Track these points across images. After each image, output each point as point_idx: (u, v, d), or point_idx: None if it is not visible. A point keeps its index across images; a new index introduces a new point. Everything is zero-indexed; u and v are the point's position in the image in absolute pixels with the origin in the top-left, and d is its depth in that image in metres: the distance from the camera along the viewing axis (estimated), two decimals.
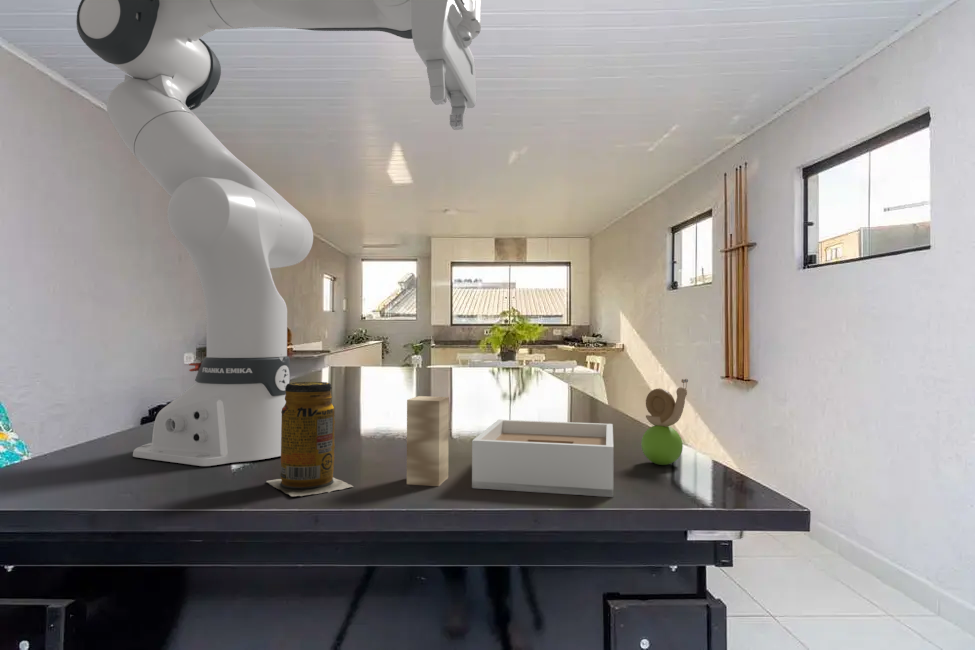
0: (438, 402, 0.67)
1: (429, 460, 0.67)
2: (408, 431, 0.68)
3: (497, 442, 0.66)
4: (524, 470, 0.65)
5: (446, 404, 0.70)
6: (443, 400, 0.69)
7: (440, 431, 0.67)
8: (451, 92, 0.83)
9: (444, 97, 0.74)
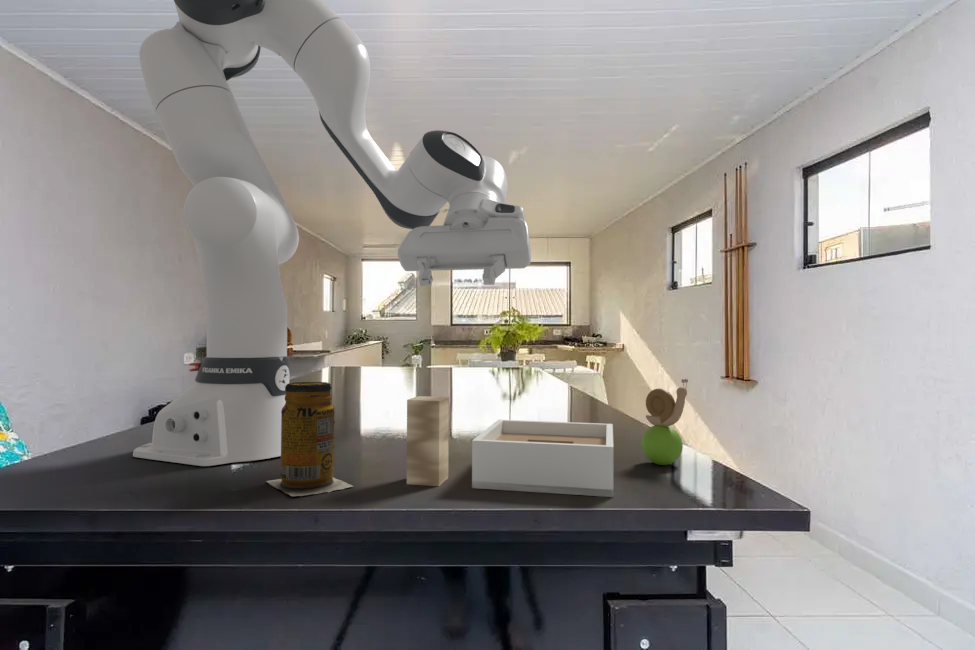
0: (438, 402, 0.67)
1: (429, 460, 0.67)
2: (408, 431, 0.68)
3: (497, 442, 0.66)
4: (524, 470, 0.65)
5: (446, 404, 0.70)
6: (443, 400, 0.69)
7: (440, 431, 0.67)
8: None
9: None
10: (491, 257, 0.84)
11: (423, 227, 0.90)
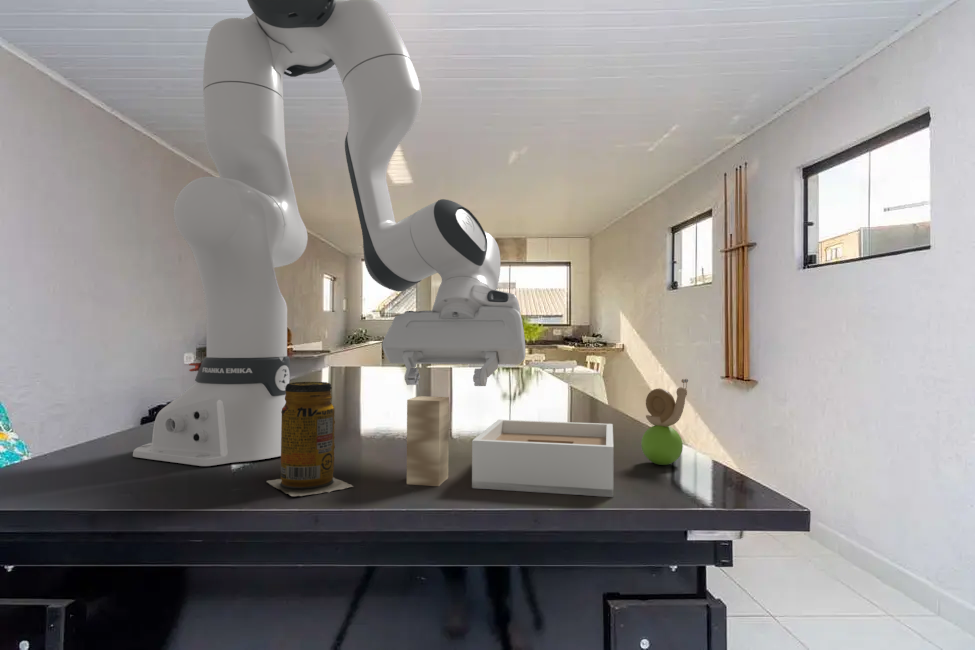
0: (438, 402, 0.67)
1: (429, 460, 0.67)
2: (408, 431, 0.68)
3: (497, 442, 0.66)
4: (524, 470, 0.65)
5: (446, 404, 0.70)
6: (443, 400, 0.69)
7: (440, 431, 0.67)
8: None
9: None
10: (483, 353, 0.78)
11: (410, 314, 0.84)
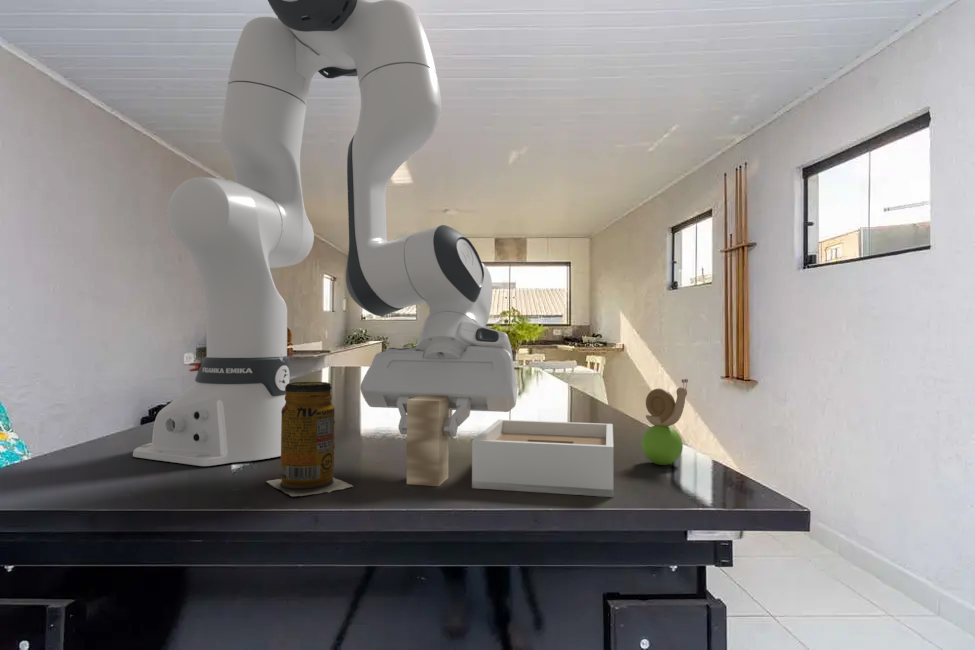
0: (438, 402, 0.67)
1: (429, 460, 0.67)
2: (408, 431, 0.68)
3: (497, 442, 0.66)
4: (524, 470, 0.65)
5: (446, 404, 0.70)
6: (443, 400, 0.69)
7: (440, 431, 0.67)
8: None
9: None
10: (454, 398, 0.72)
11: (392, 352, 0.77)
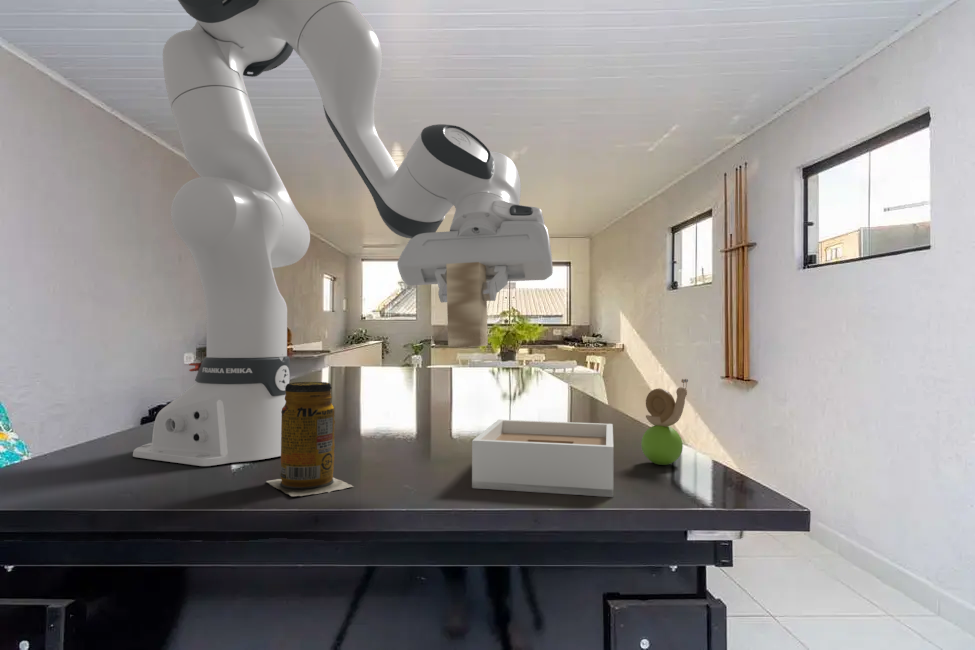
0: (477, 263, 0.68)
1: (470, 321, 0.68)
2: (448, 295, 0.69)
3: (497, 442, 0.66)
4: (524, 470, 0.65)
5: (484, 271, 0.71)
6: (481, 265, 0.70)
7: (480, 293, 0.68)
8: None
9: None
10: (491, 268, 0.72)
11: (426, 234, 0.78)
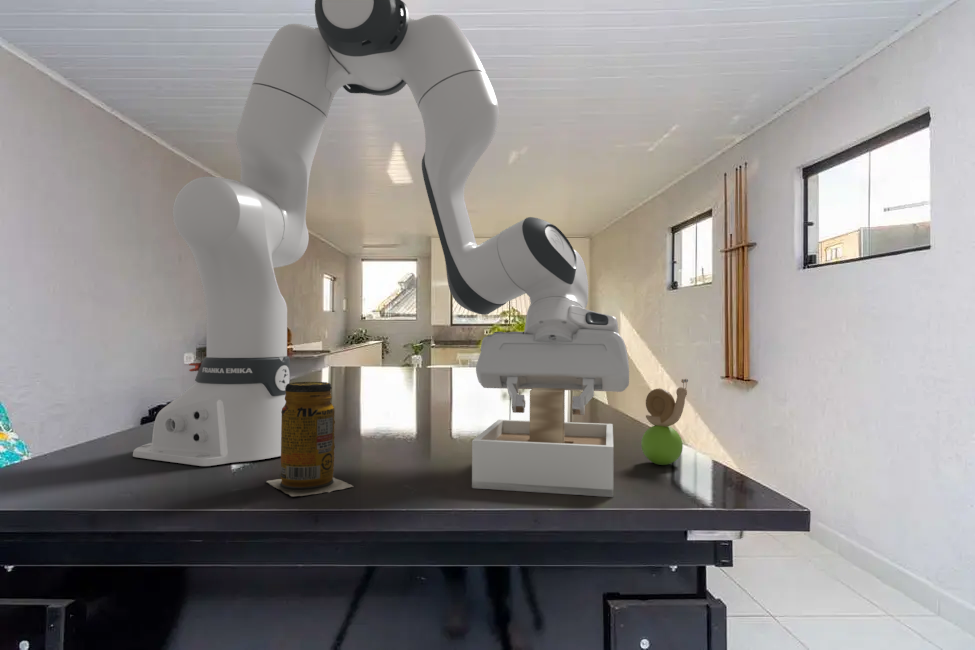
0: (561, 393, 0.70)
1: None
2: (530, 421, 0.71)
3: (497, 442, 0.66)
4: (524, 470, 0.65)
5: None
6: (563, 391, 0.72)
7: (562, 421, 0.70)
8: None
9: None
10: (578, 379, 0.74)
11: (502, 336, 0.80)
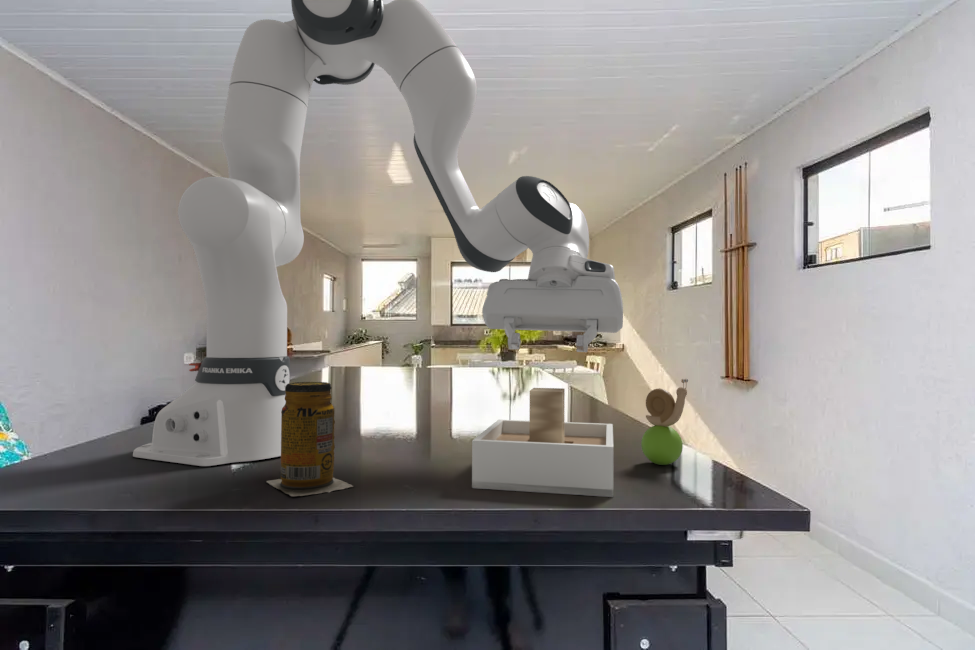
0: (561, 393, 0.70)
1: None
2: (530, 421, 0.71)
3: (497, 442, 0.66)
4: (524, 470, 0.65)
5: None
6: (563, 391, 0.72)
7: (562, 421, 0.70)
8: None
9: None
10: (582, 320, 0.81)
11: (507, 282, 0.86)
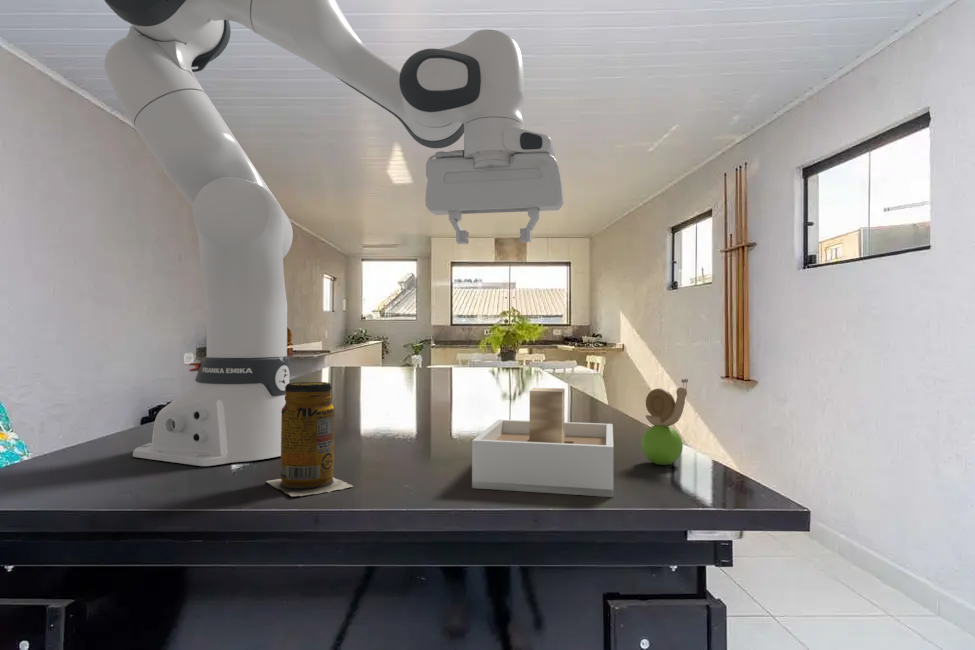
0: (561, 393, 0.70)
1: None
2: (530, 421, 0.71)
3: (497, 442, 0.66)
4: (524, 470, 0.65)
5: None
6: (563, 391, 0.72)
7: (562, 421, 0.70)
8: None
9: None
10: None
11: (443, 164, 0.83)
